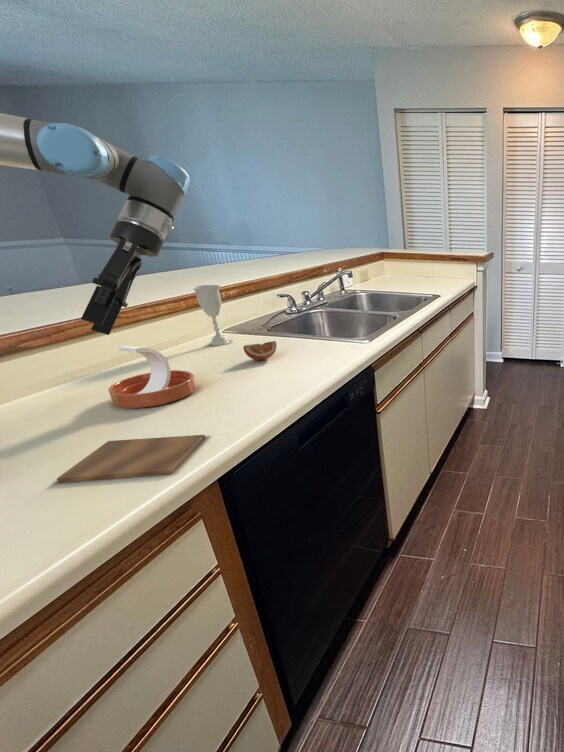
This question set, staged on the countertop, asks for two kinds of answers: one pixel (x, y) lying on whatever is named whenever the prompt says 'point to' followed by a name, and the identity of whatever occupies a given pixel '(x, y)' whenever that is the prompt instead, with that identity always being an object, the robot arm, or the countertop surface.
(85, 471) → the wooden board
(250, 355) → the fruit slice
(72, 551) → the countertop surface
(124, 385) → the bowl
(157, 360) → the headphone stand
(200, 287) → the chalice
